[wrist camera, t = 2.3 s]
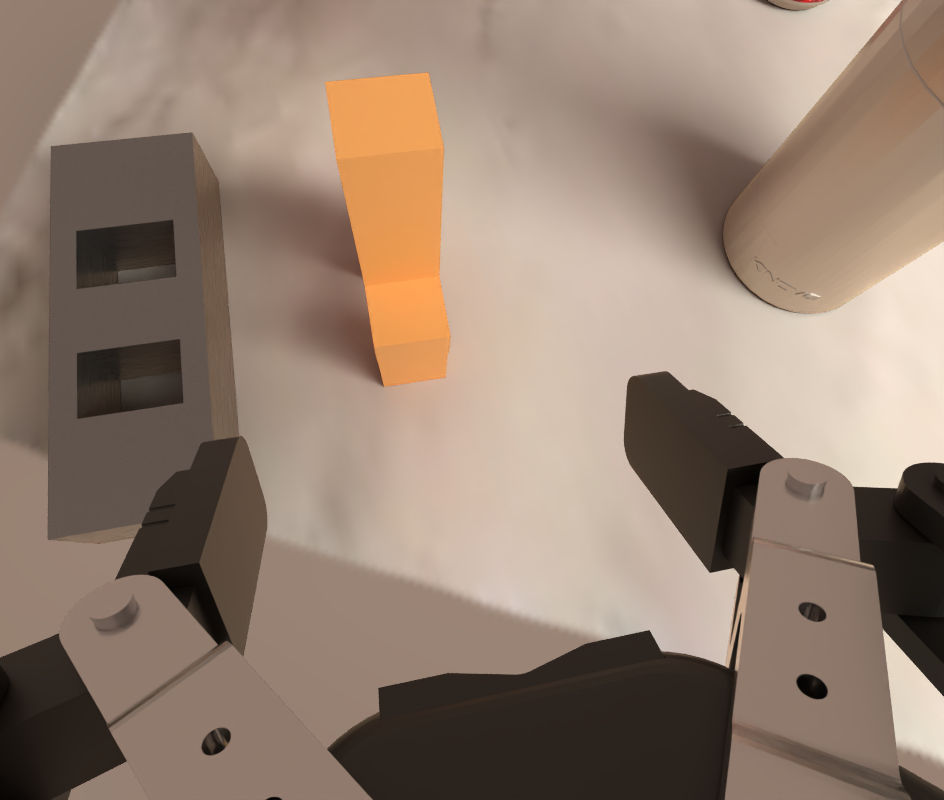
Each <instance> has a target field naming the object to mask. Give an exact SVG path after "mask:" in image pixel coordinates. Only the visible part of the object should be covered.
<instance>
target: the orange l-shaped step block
mask: <svg viewBox="0 0 944 800" xmlns="http://www.w3.org/2000/svg"><path fill="white" fill-rule="evenodd" d="M325 84H326V91H327V98H328V105H329V112H330V119H331V126H332V132H333V139H334V146H335V153H336V160H337V164H338V169H339V173H340V178H341V182H342V187H343V191H344V195H345V200H346V204H347V209H348V213H349V218H350V222H351V227H352V231H353V236H354V240H355V245H356V249H357V253H358V258H359V262H360V267H361V271H362V276H363V280H364V285H365V291H366V297H367V304H368V311H369V317H370V324H371V331H372V337H373V344H374V349H375V354H376V358H377V362H378V364H379V368H380V372H381V376H382V380H383V385H384V387H386V386H393V385H399V384H406V383H412V382H419V381H425V380H432V379H438V378H445V377H446V366H447V355H448V353H449V348H450V337H451V336H450V331H449V326H448V320H447V315H446V310H445V304H444V299H443V294H442V288H441V283H440V278H439V269H440V242H441V214H442V187H443V160H444V146H443V141H442V136H441V131H440V126H439V121H438V116H437V111H436V106H435V102H434V97H433V92H432V87H431V82H430V77H429V73H418V74H407V75H396V76H385V77H374V78H363V79H352V80H341V81H330V82H325Z"/></svg>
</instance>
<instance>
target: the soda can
mask: <svg viewBox="0 0 944 800" xmlns="http://www.w3.org/2000/svg"><path fill="white" fill-rule="evenodd" d="M767 1H769V2H771V3H772V4H774V5H777V6H779V7H782V8H786V9H792V10H804V9H810V8H813V7H816V6H818V5H820V4H823V3H825V2H827V1H829V0H767Z"/></svg>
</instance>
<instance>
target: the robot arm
mask: <svg viewBox="0 0 944 800" xmlns="http://www.w3.org/2000/svg"><path fill="white" fill-rule="evenodd" d="M723 240H724V247H725V252H726V254H727V257H728V259H729V262H730V264H731V266H732V268H733V269H734V271H735V272H736V274H737V276H738V277H739V278H740V280H741V281H742V282H743V283H744V284H745V285H746V286H747V287H748V288H749V289H750V290H751V291H752V292H754V293H755V294H756V295H758V296H759V297H760V298H762V299H763V300H765V301H767V302H769V303H771V304H773V305H775V306H777V307H779V308H782V309H785V310H789V311H792V312H798V313H808V314H812V313H821V312H827V311H830V310H833V309H836V308H839V307H840V306H842V305H843V304H845V303H846V302H848V301H850V300H851V299H853V298H854V297H856V296H858V295H859V294H861V293H862V292H864V291H866V290H867V289H869V288H870V287H872V286H873V285H875V284H877V283H878V282H880V281H881V280H883V279H885V278H886V277H888V276H889V275H891V274H893V273H895V272H896V271H898V270H899V269H901V268H903V267H904V266H906V265H907V264H909V263H910V262H912V261H913V260H915V259H917V258H918V257H920V256H921V255H923V254H924V253H926V252H928V251H929V250H931V249H932V248H934V247H935V246H937V245H939V244H940V243H942V242H943V241H944V0H902V1H901V2H900V4H899V5H898V6H897V7H896V8H895V10H894V11H893V12H892V13H891V14H890V16H889V17H888V18H887V19H886V20H885V22H884V23H883V24H882V25H881V26H880V28H879V29H878V30H877V31H876V32H875V34H874V35H873V36H872V37H871V38H870V40H869V41H868V42H867V43H866V44H865V46H864V47H863V48H862V49H861V50H860V52H859V53H858V54H857V55H856V56H855V58H854V59H853V60H852V61H851V62H850V64H849V65H848V66H847V67H846V68H845V70H844V71H843V72H842V73H841V74H840V75H839V77H838V78H837V79H836V80H835V81H834V83H833V84H832V85H831V86H830V87H829V89H828V90H827V91H826V92H825V93H824V95H823V96H822V97H821V98H820V99H819V101H818V102H817V103H816V104H815V105H814V107H813V108H812V109H811V110H810V111H809V113H808V114H807V115H806V116H805V117H804V119H803V120H802V121H801V122H800V123H799V125H798V126H797V127H796V128H795V129H794V131H793V132H792V133H791V134H790V135H789V137H788V138H787V139H786V140H785V141H784V143H783V144H782V145H781V146H780V147H779V149H778V150H777V151H776V152H775V153H774V155H773V156H772V157H771V158H770V159H769V160H768V161H767V163H766V164H765V165H764V166H763V167H762V169H761V170H760V171H759V172H758V173H757V175H756V176H755V177H754V178H753V179H752V181H751V182H750V183H749V184H748V185H747V187H746V188H745V189H744V190H743V191H742V193H741V194H740V195H739V196H738V198H737V199H736V200H735V201H734V203H733V204H732V206H731V207H730V209H729V210H728V213H727V216H726V219H725V222H724V229H723ZM624 447H625V452H626V456H627V459H628V461H629V463H630V465H631V467H632V468H633V470H634V471H635V472H636V474H637V475H638V476H639V478H640V479H641V480H642V482H643V483H644V484H645V486H646V487H647V488H648V490H649V491H650V493H651V494H652V495H653V497H654V498H655V499H656V501H657V502H658V503H659V505H660V506H661V507H662V509H663V510H664V511H665V513H666V514H667V516H668V517H669V518H670V520H671V521H672V522H673V524H674V525H675V526H676V528H677V529H678V530H679V532H680V533H681V534H682V536H683V537H684V539H685V540H686V541H687V543H688V544H689V545H690V547H691V548H692V549H693V551H694V552H695V553H696V555H697V556H698V557H699V559H700V560H701V562H702V563H703V564H704V566H705V567H706V568H707V570H708V571H709V572H710V573H712V572H716V571H721V570H726V569H731V568H734V569H735V570H736V571H737V572H738V574H739V578H738V583H737V588H736V595H735V601H734V608H733V615H732V622H731V629H730V636H729V643H728V650H727V657H726V664H725V666H723V665H720V664H718V663H715V662H712V661H709V660H706V659H703V658H700V657H695V656H691V655H687V654H681V653H674V652H663V651H661V650H660V648H659V647H658V645H657V643H656V641H655V639H654V638H653V636H652V634H651V632H650V630H648V631H644V632H639V633H634V634H629V635H625V636H620V637H615V638H611V639H606V640H601V641H597V642H592V643H587V644H584V645H583V646H580V647H578V648H576V649H574V650H572V651H570V652H568V653H566V654H564V655H562V656H560V657H558V658H556V659H554V660H552V661H550V662H548V663H546V664H544V665H542V666H540V667H538V668H536V669H534V670H532V671H530V672H527V673H524V674H519V675H504V674H503V675H501V674H459V673H447V674H442V675H437V676H433V677H428V678H423V679H419V680H414V681H410V682H405V683H400V684H395V685H390V686H386V687H381V688H378V689H379V710H380V712H378V713H376V714H374V715H372V716H370V717H368V718H366V719H365V720H363V721H362V722H360V723H358V724H357V725H355V726H354V727H352V728H351V729H350V730H348V731H347V732H346V733H344V734H343V735H342V736H341V737H339V738H338V739H337V740H336V741H335V742H334V743H333V744H332V745H331V746H330V747H328V748H327V749H326V748H325V747H324V746H323V745H322V743H321V742H320V741H319V740H318V739H317V738H316V737H315V736H314V735H313V733H312V732H311V731H310V730H309V729H308V728H307V727H306V726H305V725H304V724H303V722H302V721H301V720H300V719H299V718H298V717H297V716H296V715H295V714H294V712H293V711H292V710H291V709H290V708H289V707H288V706H287V705H286V704H285V703H284V701H282V699H281V698H280V697H279V696H278V695H277V694H276V693H275V691H274V690H273V689H272V688H271V687H270V686H269V685H268V684H267V683H266V682H265V680H263V678H262V677H261V676H260V675H259V674H258V673H257V672H256V670H255V669H254V668H253V667H252V666H251V665H250V664H249V663H248V662H247V661H246V660H245V658H244V657H243V655H244V650H245V645H246V639H247V633H248V628H249V623H250V617H251V612H252V607H253V601H254V595H255V590H256V585H257V580H258V574H259V569H260V564H261V558H262V552H263V547H264V542H265V537H266V531H267V510H266V504H265V499H264V496H263V493H262V490H261V486H260V483H259V480H258V477H257V474H256V470H255V467H254V464H253V461H252V458H251V454H250V451H249V448H248V445H247V443H246V441H245V439H244V438H243V437H242V436H239V437H233V438H226V439H220V440H213V441H207V442H202V443H201V444H200V446H199V449H198V451H197V453H196V456H195V458H194V461H193V463H192V465H191V468H190V469H189V470H183V471H177V472H176V473H175V474H174V475H172V476H171V477H170V478H169V479H168V480H167V481H166V482H165V483H164V484H163V485H162V486H161V487H160V488H159V489H158V490H157V492H156V494H155V496H154V498H153V500H152V503H151V505H150V507H149V512H147V513H146V515H145V517H144V520H143V522H142V524H141V525H142V528H139V530H138V532H137V534H136V536H135V539H134V541H133V543H132V545H131V547H130V549H129V551H128V553H127V555H126V558H125V560H124V562H123V564H122V566H121V568H120V570H119V572H118V575H117V577H116V579H115V580H114V581H112V582H109V583H106V584H105V585H103V586H101V587H99V588H97V589H95V590H94V591H92V592H91V593H89V594H88V595H86V596H85V597H84V598H82V599H81V600H80V601H79V602H78V603H77V604H76V605H75V606H74V607H73V608H72V609H71V610H70V611H69V612H68V614H67V615H66V617H65V618H64V620H63V622H62V624H61V627H60V631H59V634H56V635H54V636H52V637H50V638H47V639H45V640H42V641H40V642H37V643H35V644H33V645H30V646H28V647H25V648H23V649H20V650H18V651H15V652H13V653H10V654H8V655H6V656H3V657H1V658H0V800H68V797H69V794H70V791H71V789H73V788H75V787H77V786H79V785H81V784H83V783H85V782H87V781H89V780H91V779H93V778H95V777H97V776H98V775H101V774H103V773H104V772H106V771H109V770H111V769H113V768H114V767H116V766H118V765H120V764H122V763H124V762H126V761H127V762H128V764H129V765H130V767H131V769H132V770H133V772H134V774H135V776H136V778H137V779H138V781H139V783H140V785H141V786H142V788H143V790H144V792H145V793H146V795H147V797H148V798H149V800H944V791H943V790H941V789H940V788H938V787H936V786H934V785H933V784H931V783H929V782H928V781H926V780H924V779H922V778H921V777H919V776H917V775H915V774H914V773H912V772H910V771H908V770H907V769H905V768H903V767H902V766H900V765H898V758H897V749H896V741H895V732H894V723H893V715H892V706H891V698H890V689H889V680H888V672H887V663H886V655H885V646H884V637H883V630H884V631H885V632H886V633H887V634H888V635H889V636H890V637H891V638H892V640H893V641H894V642H895V643H896V644H897V645H898V646H899V647H900V648H901V650H902V651H903V652H904V653H905V654H906V655H907V656H908V657H909V658H910V660H911V661H912V662H913V663H914V664H915V665H916V666H917V667H918V668H919V670H920V671H921V672H922V673H923V674H924V675H925V676H926V677H927V678H928V680H929V681H930V682H931V683H932V684H933V685H934V686H935V687H936V688H937V690H938V691H939V692H940V693H941V694H942V695H943V696H944V464H943V463H919V464H914V465H912V466H909V467H908V468H906V469H905V471H904V472H903V475H902V478H901V480H900V483H899V486H898V489H896V488H870V487H853V486H852V484H851V483H850V481H849V480H848V479H847V478H846V477H845V476H844V475H842V474H841V473H839V472H838V471H836V470H835V469H833V468H831V467H829V466H826V465H824V464H821V463H818V462H815V461H811V460H806V459H799V458H783V457H782V456H781V455H780V454H779V453H778V452H776V451H775V450H774V449H773V448H772V447H771V446H769V445H768V444H767V443H766V442H765V441H764V440H762V439H761V438H760V437H759V436H758V435H757V434H755V433H754V432H753V431H752V430H751V429H750V428H748V427H747V426H744V425H743V422H742V421H740V420H739V419H738V418H737V417H736V416H735V415H731V412H730V411H729V410H728V409H726V408H725V407H724V406H723V405H722V404H721V403H719V402H718V401H717V400H716V399H714V398H712V397H709V396H707V395H705V394H702V393H700V392H698V391H696V390H688V389H687V388H686V387H684V386H683V385H682V384H681V383H680V382H679V381H678V380H677V379H676V378H674V377H673V376H672V375H671V374H670V373H669V372H666V371H663V372H657V373H651V374H644V375H638V376H632V377H631V378H630V379H629V381H628V385H627V396H626V412H625V428H624ZM882 628H883V629H882Z"/></svg>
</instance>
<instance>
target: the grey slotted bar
mask: <svg viewBox="0 0 944 800" xmlns="http://www.w3.org/2000/svg"><path fill="white" fill-rule="evenodd" d="M168 264H176V277H170V278H162V279H154V280H146V281H138V282H130V283H122V284H118V271H120V270H128V269H136V268H144V267H152V266H160V265H168ZM179 371H182V386H183V403H180V404H174V405H167V406H160V407H154V408H147V409H140V410H134V411H127V412H121V384H120V380H124V379H130V378H137V377H144V376H151V375H158V374H165V373H172V372H179ZM233 437H239V431H238V418H237V406H236V393H235V381H234V369H233V356H232V344H231V331H230V319H229V307H228V294H227V282H226V269H225V257H224V245H223V232H222V220H221V207H220V195H219V182H218V179H217V177H216V176H215V174H214V172H213V170H212V168H211V166H210V164H209V163H208V161H207V159H206V157H205V155H204V153H203V152H202V150H201V148H200V146H199V144H198V142H197V140H196V139H195V137H194V135H193V133H182V134H172V135H162V136H152V137H142V138H132V139H121V140H111V141H101V142H91V143H81V144H71V145H60V146H51V198H50V322H49V446H48V540H58V541H71V542H84V543H96V544H100V543H106V542H111V541H117V540H122V539H129V538H134V537H135V536H136V534H137V532H138V530H139V528H142V525H141V524H142V522H143V520H144V517H145V515H146V513H147V512H149V507H150V505H151V503H152V500H153V498H154V496H155V494H156V492H157V490H158V489H159V488H160V487H161V486H162V485H163V484H164V483H165V482H166V481H167V480H168V479H169V478H170V477H171V476H172V475H174V474H175V473H176V472H177V471H183V470H189V469H190V468H191V465H192V463H193V461H194V458H195V456H196V453H197V451H198V449H199V446H200V444H201V443H202V442H207V441H213V440H220V439H226V438H233Z"/></svg>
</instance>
